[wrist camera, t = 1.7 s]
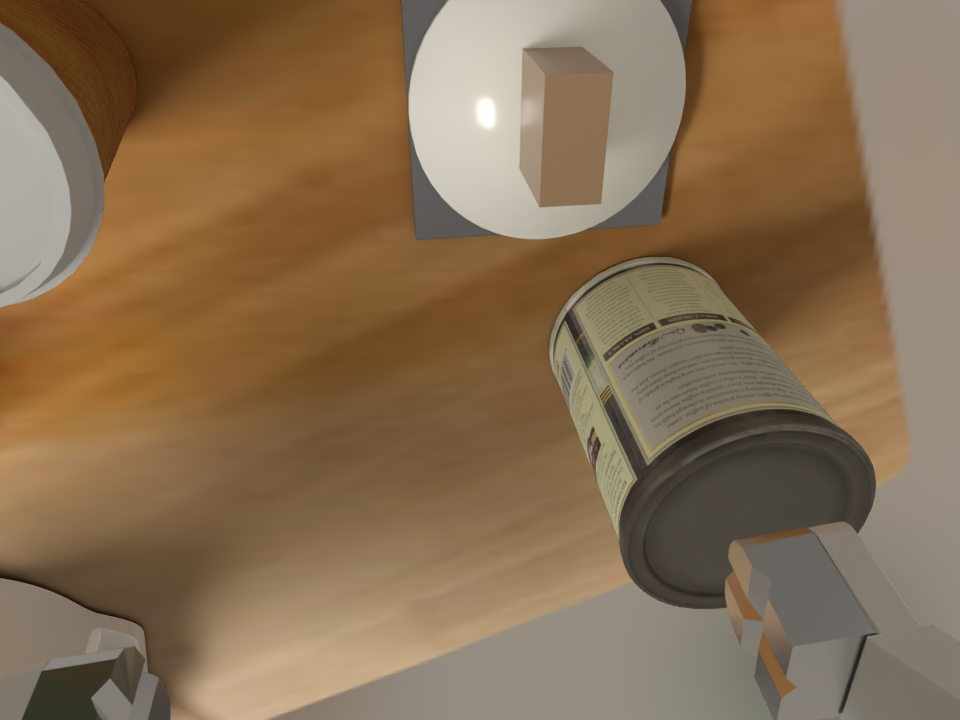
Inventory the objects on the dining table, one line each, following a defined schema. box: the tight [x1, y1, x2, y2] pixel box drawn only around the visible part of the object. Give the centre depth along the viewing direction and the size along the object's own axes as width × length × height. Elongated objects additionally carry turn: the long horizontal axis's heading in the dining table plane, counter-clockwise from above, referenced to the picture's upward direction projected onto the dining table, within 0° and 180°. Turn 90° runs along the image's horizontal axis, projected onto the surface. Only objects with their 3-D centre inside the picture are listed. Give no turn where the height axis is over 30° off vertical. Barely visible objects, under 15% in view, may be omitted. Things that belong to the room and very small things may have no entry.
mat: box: [401, 0, 692, 240], centre depth 32 cm, size 12×12×1 cm
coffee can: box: [549, 257, 876, 609], centre depth 34 cm, size 10×10×14 cm
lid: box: [408, 0, 686, 239], centre depth 29 cm, size 12×12×5 cm
